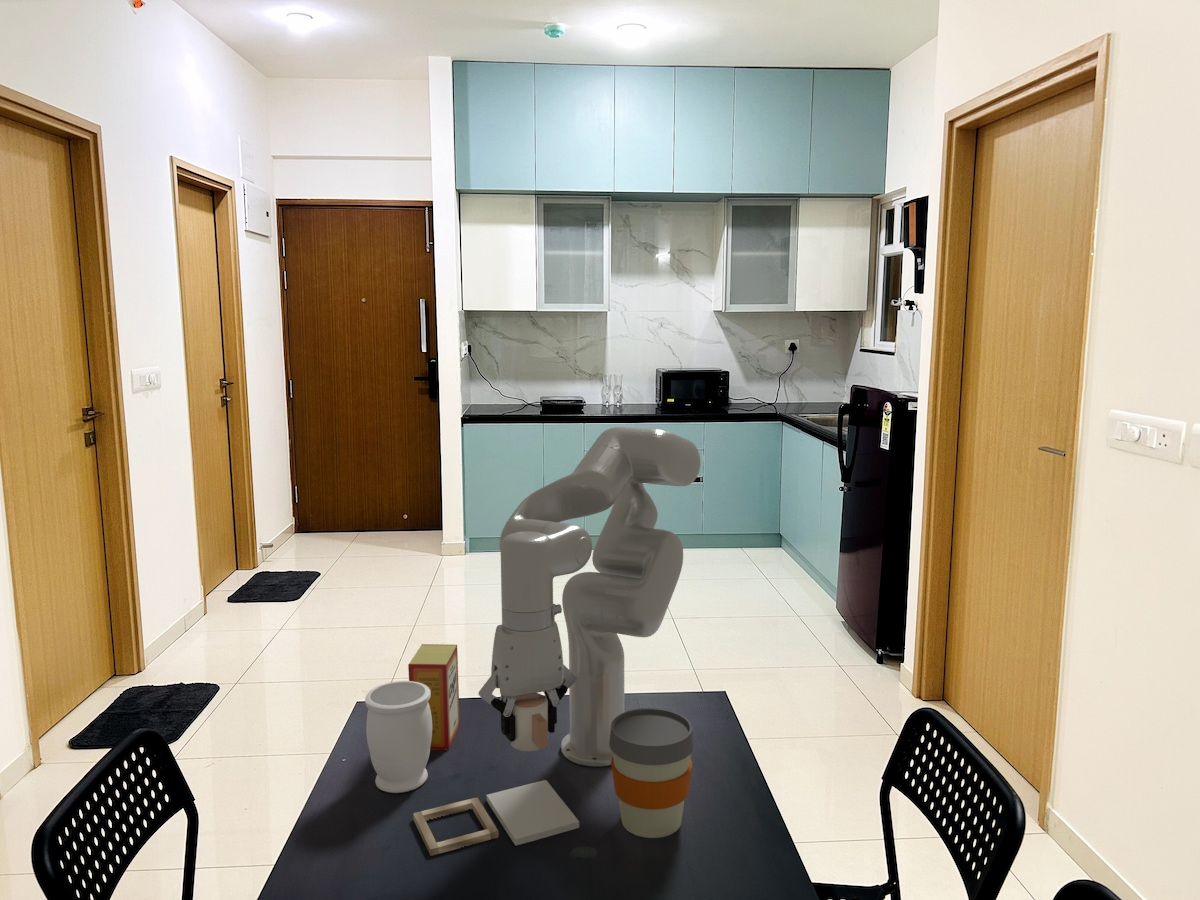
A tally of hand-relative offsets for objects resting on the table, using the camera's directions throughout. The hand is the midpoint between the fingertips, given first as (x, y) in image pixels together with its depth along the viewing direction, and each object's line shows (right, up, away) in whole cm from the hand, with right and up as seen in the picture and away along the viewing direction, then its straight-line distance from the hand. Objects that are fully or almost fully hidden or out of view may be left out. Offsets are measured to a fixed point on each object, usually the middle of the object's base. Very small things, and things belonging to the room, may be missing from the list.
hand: (529, 732), depth 129 cm
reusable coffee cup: (+18, -14, 0) cm, 23 cm away
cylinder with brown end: (+1, -2, -1) cm, 2 cm away
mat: (0, -13, +2) cm, 13 cm away
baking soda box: (-19, -10, +27) cm, 34 cm away
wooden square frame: (-11, -14, -1) cm, 18 cm away
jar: (-22, -12, +12) cm, 28 cm away
